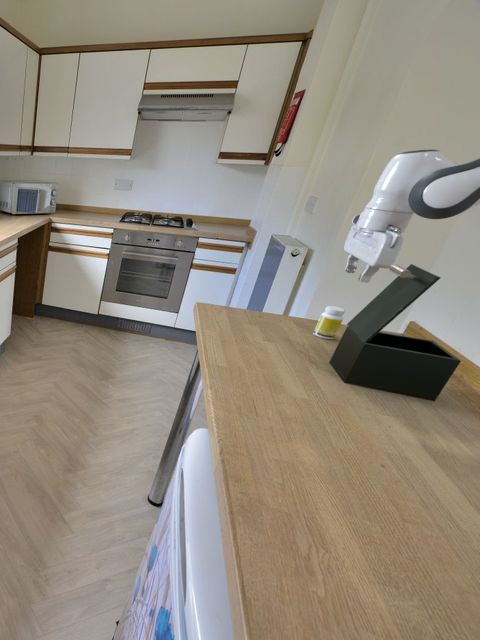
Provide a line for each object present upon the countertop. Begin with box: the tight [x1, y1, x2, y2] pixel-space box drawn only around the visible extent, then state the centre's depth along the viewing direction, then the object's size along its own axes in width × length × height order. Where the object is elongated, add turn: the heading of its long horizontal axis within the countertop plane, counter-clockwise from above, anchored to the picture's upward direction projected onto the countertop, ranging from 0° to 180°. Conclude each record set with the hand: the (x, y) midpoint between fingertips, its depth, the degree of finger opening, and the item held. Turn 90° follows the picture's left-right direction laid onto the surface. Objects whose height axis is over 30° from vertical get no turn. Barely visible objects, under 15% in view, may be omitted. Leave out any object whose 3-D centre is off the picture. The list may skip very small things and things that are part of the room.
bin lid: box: [346, 263, 442, 343], centre depth 88 cm, size 16×11×4 cm
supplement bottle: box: [312, 305, 346, 340], centre depth 114 cm, size 5×5×8 cm
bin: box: [329, 326, 462, 402], centre depth 91 cm, size 16×11×10 cm
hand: (355, 276), depth 106 cm, fingers open, 8 cm apart
